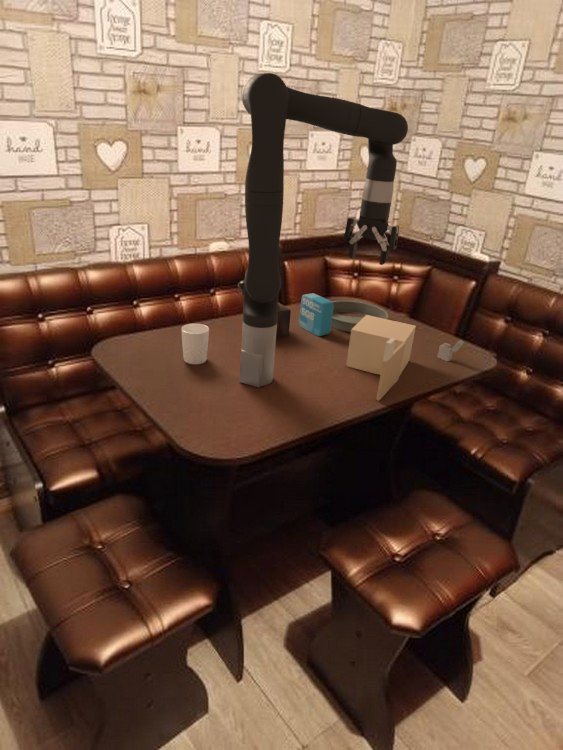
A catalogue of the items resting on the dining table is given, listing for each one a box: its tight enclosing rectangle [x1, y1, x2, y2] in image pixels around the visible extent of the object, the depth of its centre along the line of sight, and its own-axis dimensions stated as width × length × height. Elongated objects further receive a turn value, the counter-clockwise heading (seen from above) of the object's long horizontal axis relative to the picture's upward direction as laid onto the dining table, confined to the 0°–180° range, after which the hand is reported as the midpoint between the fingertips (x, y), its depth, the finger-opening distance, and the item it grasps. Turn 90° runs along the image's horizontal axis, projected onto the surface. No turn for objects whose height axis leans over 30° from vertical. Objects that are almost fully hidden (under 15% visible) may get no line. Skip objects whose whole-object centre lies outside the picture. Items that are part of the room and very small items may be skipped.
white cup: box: [181, 323, 210, 365], centre depth 158 cm, size 8×8×10 cm
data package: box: [298, 292, 333, 337], centre depth 186 cm, size 12×4×12 cm, turn 37°
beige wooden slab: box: [375, 338, 405, 401], centre depth 148 cm, size 1×16×17 cm, turn 150°
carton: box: [345, 315, 417, 377], centre depth 165 cm, size 15×16×12 cm
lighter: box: [437, 339, 465, 362], centre depth 172 cm, size 7×2×8 cm, turn 43°
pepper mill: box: [237, 279, 292, 339], centre depth 178 cm, size 16×11×18 cm
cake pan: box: [331, 300, 390, 333], centre depth 198 cm, size 25×25×4 cm
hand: (366, 261), depth 145 cm, fingers open, 8 cm apart
